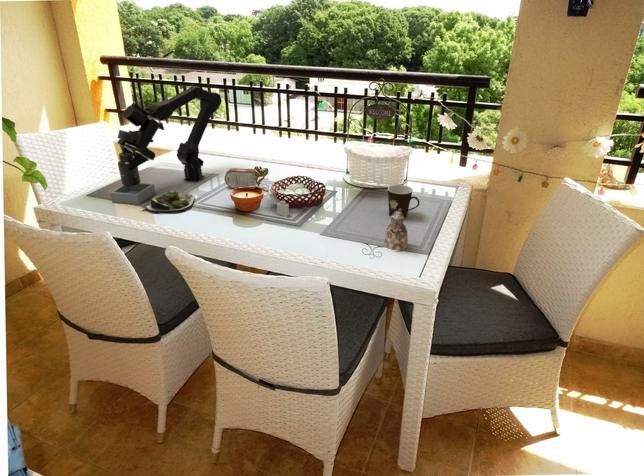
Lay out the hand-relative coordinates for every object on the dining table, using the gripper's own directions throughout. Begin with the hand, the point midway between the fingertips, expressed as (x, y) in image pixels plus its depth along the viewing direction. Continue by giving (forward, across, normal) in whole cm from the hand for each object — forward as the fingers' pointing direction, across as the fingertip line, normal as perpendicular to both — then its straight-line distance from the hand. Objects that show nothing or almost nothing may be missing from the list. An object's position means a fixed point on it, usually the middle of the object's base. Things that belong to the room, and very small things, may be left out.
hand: (124, 168), depth 171 cm
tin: (-16, +24, +35) cm, 46 cm away
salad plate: (+5, +17, +14) cm, 22 cm away
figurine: (-17, +98, +36) cm, 106 cm away
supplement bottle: (+4, 0, +6) cm, 7 cm away
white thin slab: (-11, +54, +30) cm, 62 cm away
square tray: (+8, 0, +10) cm, 13 cm away
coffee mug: (-30, +87, +50) cm, 105 cm away
